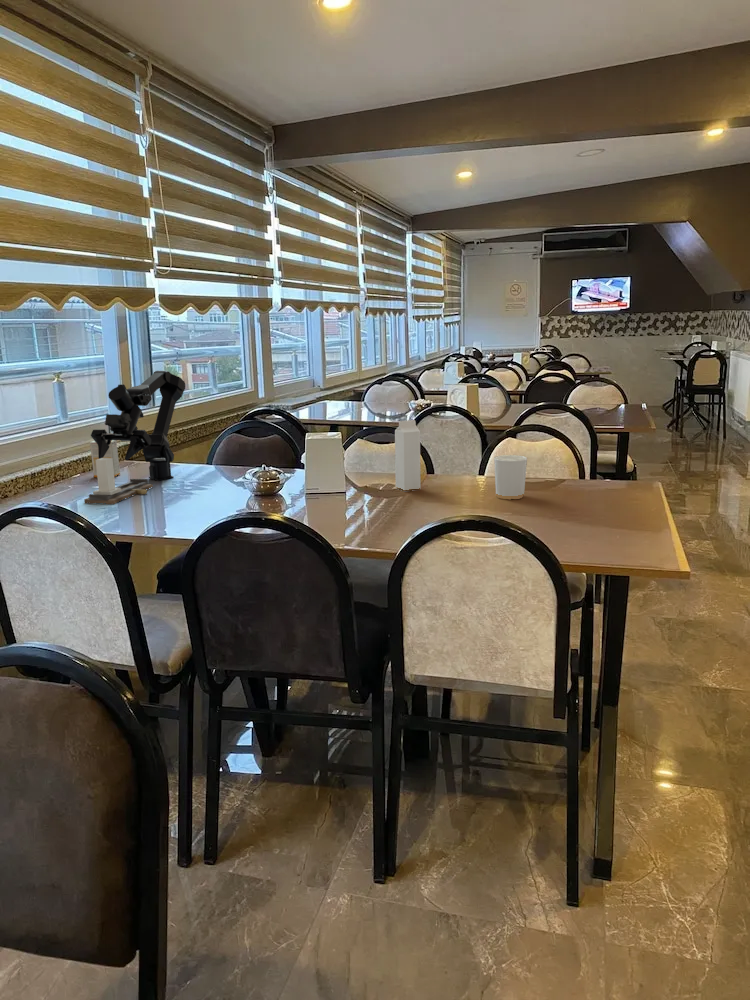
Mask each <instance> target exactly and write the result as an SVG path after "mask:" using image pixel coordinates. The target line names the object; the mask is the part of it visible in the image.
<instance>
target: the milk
mask: <svg viewBox="0 0 750 1000" xmlns="http://www.w3.org/2000/svg"><path fill="white" fill-rule="evenodd" d="M394 452H395V453H394V461H395V462H394V463H395V468H394V470H395V473H394V474H395V475H394V476H395V488H396V487H398V488H401V489H403V490H409V489H419V488H420V489H421V430H420V429H419V427H418V426H417V423H416V420H415V419H412V420H411V419H410V420H399V421H398V426H397V427H396V429H395V430H394Z"/></svg>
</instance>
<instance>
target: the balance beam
mask: <svg viewBox="0 0 750 1000" xmlns="http://www.w3.org/2000/svg"><path fill="white" fill-rule="evenodd" d="M148 479H149V478H130V479H129V481H128V482H125V483H123V484H121V485H117V486H115V488H121V491H120V492H118V493H115V494H113V495H109V496H108V495H98V494H93V493H91V494H88V497H87V498H84V504H93V503H103V504H102V505H115V503H116V504H118V503H120V502H122V501H121V500H123V499H125V498H127V499H129V498H128V497H130V496H132V495H134V494H137V495H145V494H146V493H147V494H148V490H146V489H149V488H151V487H153V488H154V484H153V483H149V481H148ZM151 489H152V488H151ZM149 490H150V489H149ZM147 494H146V495H147ZM132 497H133V496H132ZM130 498H131V497H130ZM125 500H126V499H125ZM119 501H120V502H119ZM123 501H124V500H123ZM117 502H118V503H117ZM104 503H106V504H104Z"/></svg>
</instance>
